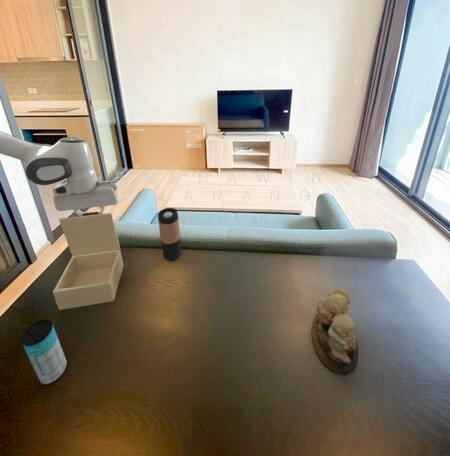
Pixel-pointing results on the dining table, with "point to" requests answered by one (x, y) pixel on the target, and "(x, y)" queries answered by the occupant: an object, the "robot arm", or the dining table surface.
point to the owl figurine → (335, 333)
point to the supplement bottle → (44, 351)
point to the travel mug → (170, 233)
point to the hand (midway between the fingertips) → (92, 216)
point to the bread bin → (89, 280)
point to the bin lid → (90, 233)
